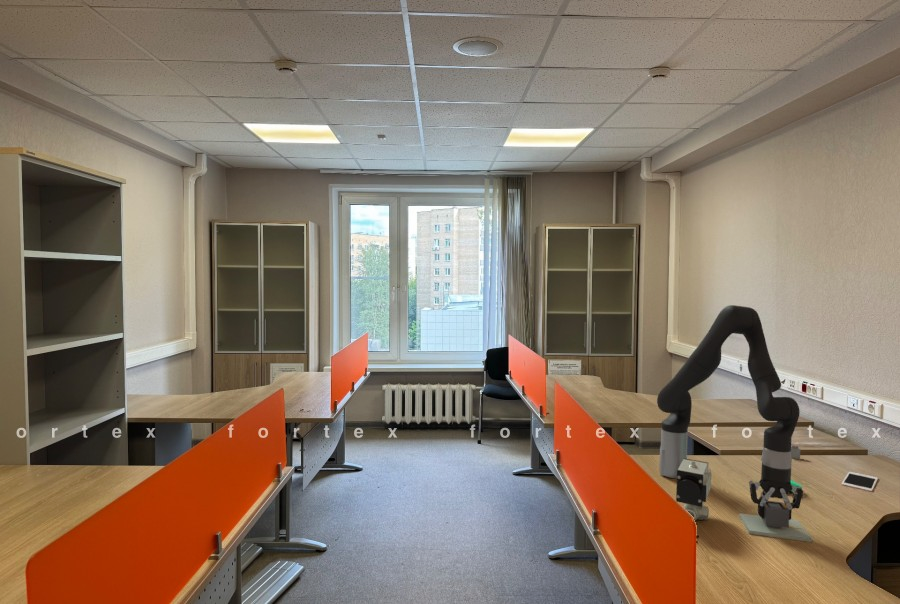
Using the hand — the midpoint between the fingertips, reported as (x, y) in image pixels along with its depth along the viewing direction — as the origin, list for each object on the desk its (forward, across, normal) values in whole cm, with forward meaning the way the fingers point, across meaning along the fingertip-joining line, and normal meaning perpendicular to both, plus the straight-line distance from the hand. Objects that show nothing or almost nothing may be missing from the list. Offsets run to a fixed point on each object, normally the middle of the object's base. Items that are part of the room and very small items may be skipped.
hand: (774, 518), depth 159 cm
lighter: (+3, +26, +76) cm, 81 cm away
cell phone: (+4, +42, +53) cm, 68 cm away
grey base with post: (+3, 0, 0) cm, 3 cm away
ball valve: (+3, -22, 0) cm, 22 cm away
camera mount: (+3, +12, +38) cm, 40 cm away
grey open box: (+1, 0, 0) cm, 1 cm away
